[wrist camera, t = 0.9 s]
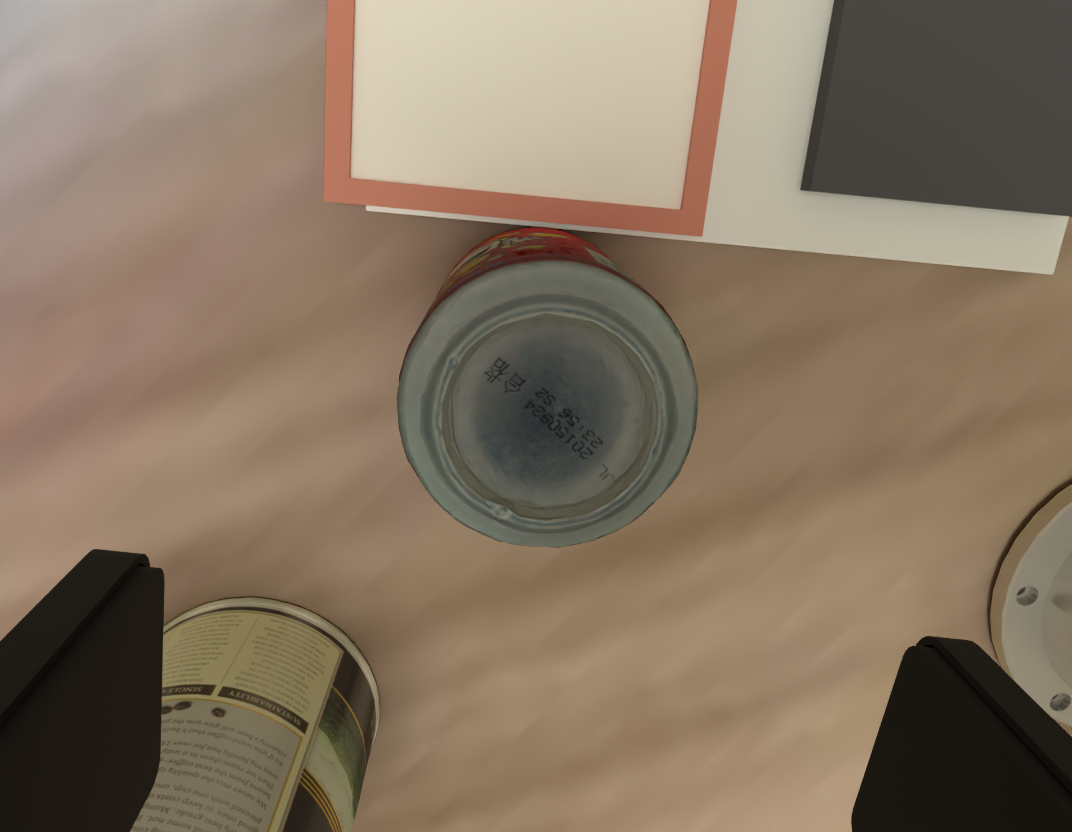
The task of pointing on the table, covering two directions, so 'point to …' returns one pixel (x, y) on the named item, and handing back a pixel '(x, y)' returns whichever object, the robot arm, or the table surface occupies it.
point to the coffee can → (260, 722)
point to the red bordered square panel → (528, 108)
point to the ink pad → (946, 104)
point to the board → (779, 157)
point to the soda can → (545, 393)
